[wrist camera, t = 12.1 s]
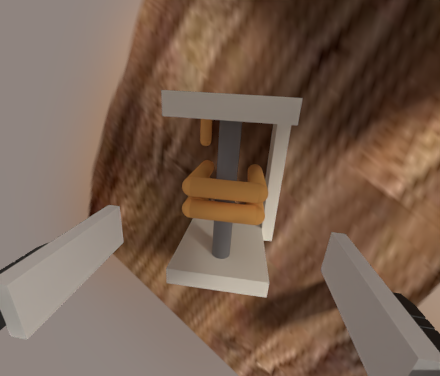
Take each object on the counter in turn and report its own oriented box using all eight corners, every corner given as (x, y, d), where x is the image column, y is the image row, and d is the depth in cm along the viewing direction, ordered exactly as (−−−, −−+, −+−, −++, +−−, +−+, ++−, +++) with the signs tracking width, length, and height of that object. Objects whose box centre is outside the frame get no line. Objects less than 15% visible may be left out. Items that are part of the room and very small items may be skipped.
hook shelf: (201, 102, 28) (161, 89, 15) (287, 107, 27) (327, 99, 14) (197, 218, 34) (166, 282, 21) (268, 227, 33) (283, 300, 20)
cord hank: (199, 189, 27) (179, 220, 19) (200, 159, 26) (179, 178, 18) (258, 195, 27) (264, 230, 18) (263, 164, 25) (270, 188, 17)
